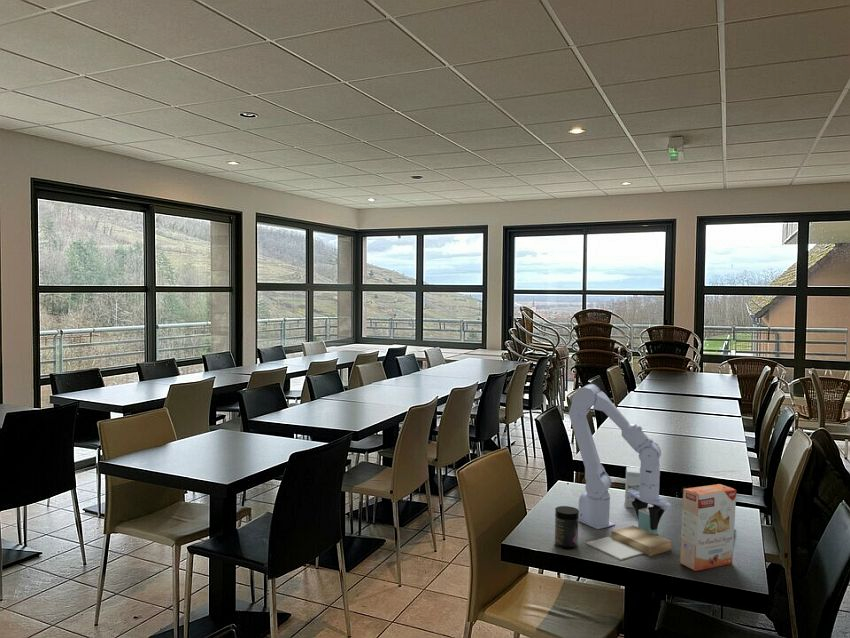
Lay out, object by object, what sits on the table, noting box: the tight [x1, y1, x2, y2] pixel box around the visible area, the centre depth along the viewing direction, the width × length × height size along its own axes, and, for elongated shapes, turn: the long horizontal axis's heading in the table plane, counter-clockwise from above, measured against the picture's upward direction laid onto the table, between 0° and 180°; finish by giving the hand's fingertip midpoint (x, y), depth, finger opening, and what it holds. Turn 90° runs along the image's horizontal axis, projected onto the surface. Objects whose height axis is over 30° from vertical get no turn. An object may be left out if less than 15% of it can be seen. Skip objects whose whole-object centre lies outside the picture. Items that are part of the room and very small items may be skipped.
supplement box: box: [624, 466, 640, 509], centre depth 217 cm, size 7×7×13 cm
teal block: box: [637, 507, 659, 535], centre depth 193 cm, size 4×4×7 cm
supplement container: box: [554, 505, 580, 550], centre depth 182 cm, size 7×7×10 cm
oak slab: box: [611, 525, 672, 557], centre depth 184 cm, size 14×9×2 cm, turn 31°
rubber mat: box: [585, 536, 644, 561], centre depth 180 cm, size 13×9×1 cm
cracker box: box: [679, 483, 737, 572], centre depth 171 cm, size 14×6×21 cm, turn 114°
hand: (647, 526), depth 193 cm, fingers closed on teal block, 4 cm apart
